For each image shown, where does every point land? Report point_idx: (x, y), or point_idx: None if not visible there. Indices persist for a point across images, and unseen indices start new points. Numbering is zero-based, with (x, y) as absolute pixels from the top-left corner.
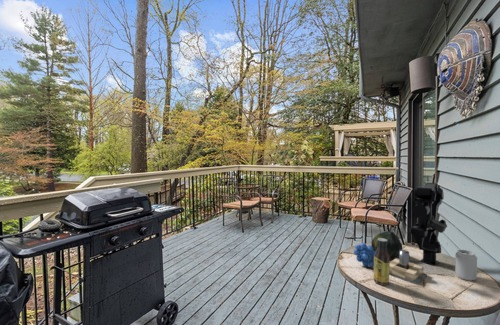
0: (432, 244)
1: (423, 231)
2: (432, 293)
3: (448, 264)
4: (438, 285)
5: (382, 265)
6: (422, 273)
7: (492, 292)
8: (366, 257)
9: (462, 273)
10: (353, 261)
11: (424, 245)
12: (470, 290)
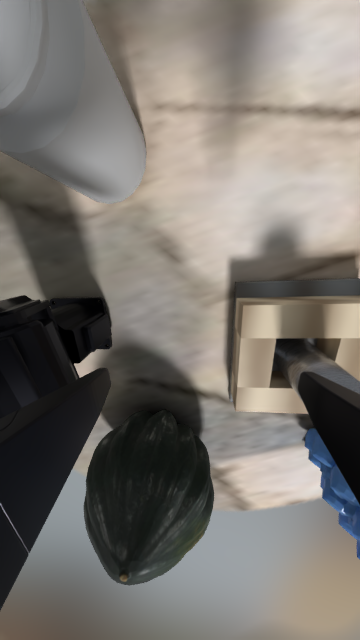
0: (38, 347)
1: None
2: None
3: (36, 265)
4: (298, 214)
5: None
6: (246, 297)
7: None
8: None
9: (138, 142)
10: (301, 476)
11: (72, 379)
12: (245, 82)
